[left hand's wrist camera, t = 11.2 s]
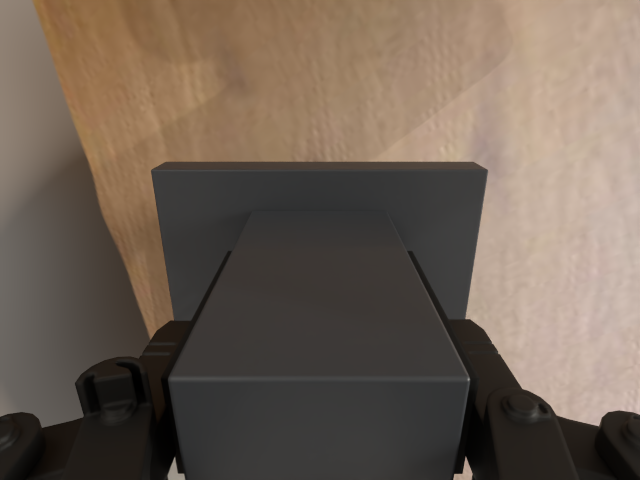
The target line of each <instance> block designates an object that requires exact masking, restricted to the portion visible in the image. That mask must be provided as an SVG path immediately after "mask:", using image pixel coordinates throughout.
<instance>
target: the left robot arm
mask: <svg viewBox="0 0 640 480" xmlns="http://www.w3.org/2000/svg"><path fill="white" fill-rule="evenodd" d="M231 252H232V251H228V252H227V254H226V256H225V257H224V259H223V261H222V263H221V265H220V267H219V269H218V271H217V273H216V274H215V276H214V278H213V280H212V282H211V284H210V286H209V288H208V290H207V291H206V293H205V295H204V297H203V299H202V301H201V303H200V305H199V307H198V308H197V310H196V312H195V314H194V316H193V318H192V320H191V321H169V322H168V323H167V324H165V325H164V326H163V327H161V328H160V329H159V330H157V331H156V333H155V334H154V336H153V337H152V339H151V341H150V342H149V345H148V346H147V347H146V348H145V350H144V352H143V354H142V356H140V358H139V359H137V358H134V357H116V358H112V359H108V360H104V361H102V362H100V363H98V364H96V365H94V366H92V367H90V368H89V369H88V370H86V371H85V372H84V373H82V374H81V375H80V377H79V378H78V380H77V381H76V382H75V386H76V389H77V393H78V396H79V400H80V403H81V407H82V411H83V414H84V417H83V418H80V419H77V420H73V421H69V422H66V423H61V424H57V425H53V426H49V427H44V428H42V427H41V424H40V421H39V419H38V418H37V417H36V416H34V415H33V414H30V413H24V412H20V413H13V414H7V415H4V416H1V417H0V480H168V473H169V471H170V468H171V465H172V463H173V460H174V458H175V461H176V466H177V472H178V474H184V470H183V464H182V459H181V453H180V447H179V441H178V436H177V430H176V424H175V418H174V413H173V407H172V401H171V395H170V390H169V384H168V378H169V375H170V373H171V371H172V369H173V367H174V365H175V363H176V361H177V359H178V357H179V355H180V353H181V351H182V350H183V348H184V346H185V344H186V342H187V340H188V338H189V336H190V334H191V332H192V330H193V328H194V326H195V324H196V322H197V320H198V318H199V316H200V314H201V312H202V310H203V308H204V306H205V304H206V302H207V300H208V298H209V296H210V294H211V292H212V290H213V288H214V286H215V284H216V282H217V280H218V278H219V276H220V274H221V272H222V270H223V268H224V266H225V264H226V262H227V260H228V258H229V256H230V254H231ZM407 252H408V255H409V257H410V259H411V261H412V263H413V265H414V267H415V269H416V271H417V273H418V275H419V277H420V279H421V281H422V283H423V285H424V287H425V289H426V291H427V293H428V295H429V297H430V299H431V301H432V303H433V305H434V307H435V309H436V311H437V313H438V315H439V317H440V319H441V321H442V323H443V325H444V327H445V329H446V331H447V333H448V335H449V337H450V339H451V341H452V343H453V345H454V347H455V349H456V351H457V353H458V355H459V357H460V359H461V361H462V363H463V365H464V367H465V369H466V371H467V373H468V375H469V377H470V385H469V391H468V397H467V402H466V408H465V414H464V420H463V426H462V432H461V437H460V443H459V449H458V455H457V461H456V466H455V472H454V474H462V473H463V468H464V462H465V457H466V458H467V460H468V463H469V465H470V468H471V471H472V473H473V475H472V480H640V415H639V414H636V413H633V412H625V411H613V412H608V413H607V414H606V415H605V416H603V417H602V419H601V422H600V425H599V426H595V425H590V424H586V423H582V422H578V421H573V420H569V419H566V418H563V417H559V416H556V414H555V413H554V411H553V409H552V408H551V406H550V405H549V404H548V403H546V402H545V401H544V400H543V399H542V398H541V397H539V396H537V395H535V394H533V393H531V392H529V391H527V390H523V389H522V388H521V386H520V385H519V383H518V382H517V380H516V379H515V377H514V376H513V374H512V372H511V371H510V369H509V368H508V366H507V365H506V363H505V362H504V360H503V359H502V357H501V355H500V354H498V351H497V349H496V348H495V346H494V345H493V344H492V342H491V340H490V338H489V337H488V335H487V334H486V332H485V331H484V329H482V328H481V327H479V326H478V325H477V324H475V323H474V322H473V321H471V320H470V319H448V317H447V315H446V314H445V312H444V310H443V308H442V306H441V304H440V302H439V300H438V298H437V297H436V295H435V293H434V291H433V289H432V287H431V285H430V283H429V281H428V280H427V278H426V276H425V274H424V272H423V270H422V268H421V266H420V264H419V263H418V261H417V259H416V257H415V255H414V253H413V251H407Z"/></svg>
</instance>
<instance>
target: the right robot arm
mask: <svg viewBox="0 0 640 480" xmlns="http://www.w3.org/2000/svg"><path fill="white" fill-rule="evenodd" d="M168 480H185V476H184V474H178V472H177V466H176V461H175V458H174V460H173V463H172V465H171V468H170V471H169V473H168Z"/></svg>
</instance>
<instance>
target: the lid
mask: <svg viewBox="0 0 640 480" xmlns="http://www.w3.org/2000/svg"><path fill="white" fill-rule="evenodd" d="M151 174H152V180H153V187H154V193H155V199H156V206H157V212H158V219H159V225H160V231H161V238H162V244H163V251H164V257H165V264H166V270H167V276H168V283H169V289H170V296H171V302H172V308H173V315H174V321H191V320H192V318H193V316H194V314H195V312H196V310H197V308H198V307H199V305H200V303H201V301H202V299H203V297H204V295H205V293H206V291H207V290H208V288H209V286H210V284H211V282H212V280H213V278H214V276H215V274H216V273H217V271H218V269H219V267H220V265H221V263H222V261H223V259H224V257H225V256H226V254H227V252H228V251H232V252H231V254H230V256H229V258H228V260H227V262H226V264H225V266H224V268H223V270H222V272H221V274H220V276H219V278H218V280H217V282H216V284H215V286H214V288H213V290H212V292H211V294H210V296H209V298H208V300H207V302H206V304H205V306H204V308H203V310H202V312H201V314H200V316H199V318H198V320H197V322H196V324H195V326H194V328H193V330H192V332H191V334H190V336H189V338H188V340H187V342H186V344H185V346H184V348H183V350H182V351H181V353H180V355H179V357H178V359H177V361H176V363H175V365H174V367H173V369H172V371H171V373H170V375H169V378H168V384H169V390H170V395H171V401H172V407H173V413H174V418H175V424H176V430H177V436H178V441H179V447H180V453H181V459H182V464H183V470H184V476H185V480H453V478H454V472H455V466H456V461H457V455H458V449H459V443H460V437H461V432H462V426H463V420H464V414H465V408H466V402H467V397H468V391H469V385H470V377H469V375H468V373H467V371H466V369H465V367H464V365H463V363H462V361H461V359H460V357H459V355H458V353H457V351H456V349H455V347H454V345H453V343H452V341H451V339H450V337H449V335H448V333H447V331H446V329H445V327H444V325H443V323H442V321H441V319H440V317H439V315H438V313H437V311H436V309H435V307H434V305H433V303H432V301H431V299H430V297H429V295H428V293H427V291H426V289H425V287H424V285H423V283H422V281H421V279H420V277H419V275H418V273H417V271H416V269H415V267H414V265H413V263H412V261H411V259H410V257H409V255H408V252H407V251H413V253H414V255H415V257H416V259H417V261H418V263H419V264H420V266H421V268H422V270H423V272H424V274H425V276H426V278H427V280H428V281H429V283H430V285H431V287H432V289H433V291H434V293H435V295H436V297H437V298H438V300H439V302H440V304H441V306H442V308H443V310H444V312H445V314H446V315H447V317H448V319H465V317H466V310H467V304H468V297H469V291H470V284H471V278H472V272H473V265H474V259H475V252H476V246H477V239H478V233H479V226H480V220H481V214H482V207H483V201H484V194H485V188H486V181H487V175H488V170H487V169H485V168H483V167H482V166H480V165H478V164H476V163H474V162H165V163H163V164H161V165H159V166H158V167H156V168H154V169H152V170H151Z"/></svg>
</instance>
